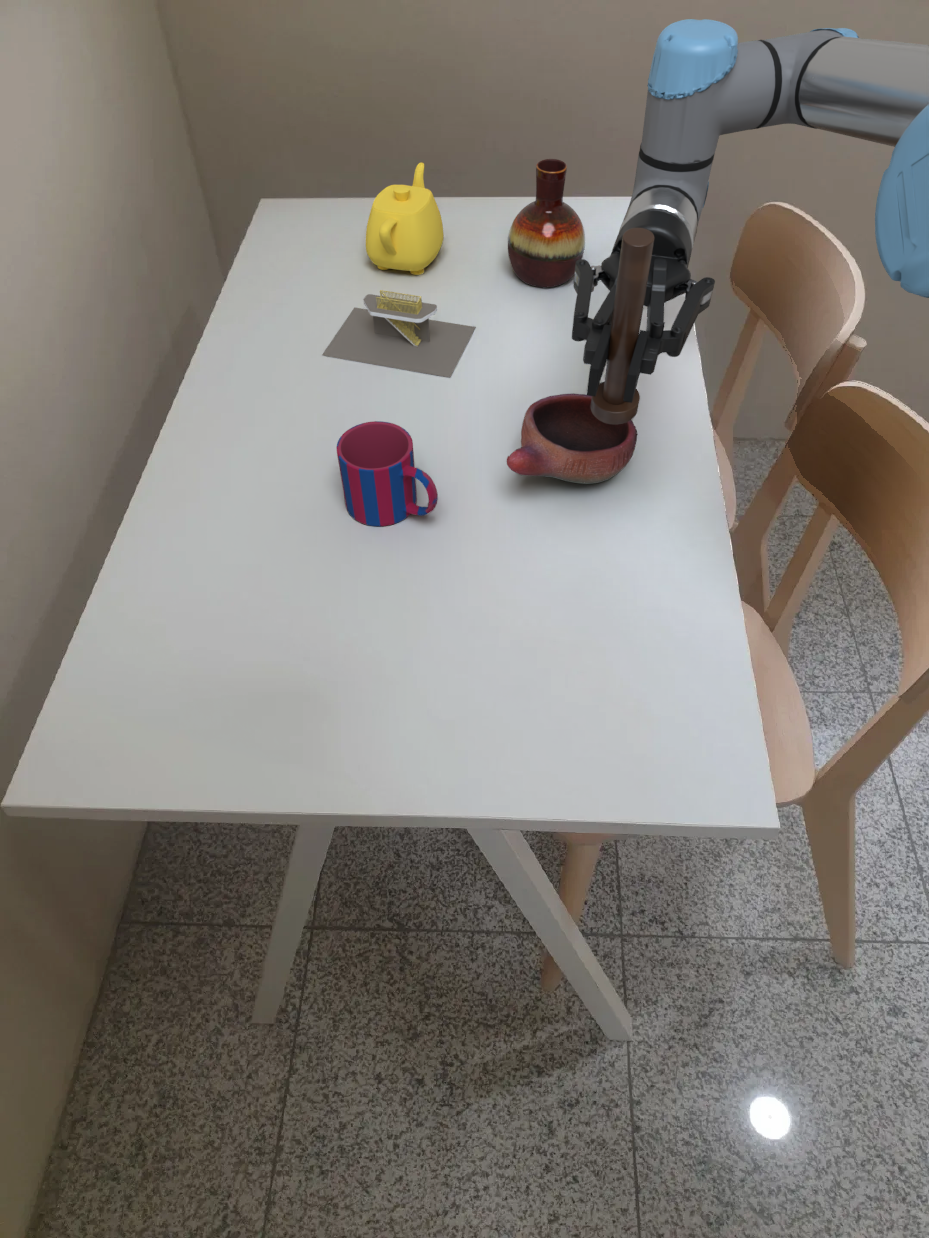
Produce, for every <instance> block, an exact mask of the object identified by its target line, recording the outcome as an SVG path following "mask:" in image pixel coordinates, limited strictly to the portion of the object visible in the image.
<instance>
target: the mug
mask: <svg viewBox="0 0 929 1238" xmlns="http://www.w3.org/2000/svg"><path fill="white" fill-rule="evenodd" d="M414 454H415V453H414V442H413V439H412V435H410V432H409V431H407V430H406V429H405V428H404V427H402V426H400V425H398V424H396V423H393V422H389V421H381V420H379V421H378V420H377V421H376V420H375V421H366V422H361V423H360V424H359V423H358V424H356V425H354V426H352V427H350V428H349V429H347V430H346V431H344V433H342V435H341V436H340V437H339V438H338V440H337V443H336V456H337V461H338V467H339V474H340V479H341V486H342V492H343V497H344V504H345V508H346V511H347V513H348V514H349V516H351V518H352V519H354V520H355V521H357V522H359V523H361V524H363V525H366V526H371V527H388V526H392V525H393V526H394V525H395V524H398V523H400V522H402V521H404V520H405V519H407V518H408V517H410V515H413V516H427V515H428V514H430V513H431V512H432V511H434V510H435V508H436V507H437V505H438V500H439V497H438V490H437V486H436V485H435V482H434V480H433V479H432V477H431V476H430V475H429V474H428V473H427V472H425V471H424V470H422V469H420V468H418V467H415V455H414ZM416 480H418V481H419V482H420V483H421V484H422V485H423V487H424V489H425V490H426V494H427V498H428V503H427V506H420V505H417V503H418V501H417V500H418V495H417V482H416Z"/></svg>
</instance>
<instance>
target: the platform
mask: <svg viewBox="0 0 929 1238" xmlns="http://www.w3.org/2000/svg"><path fill="white" fill-rule="evenodd" d="M362 300H363V305H364V306H365V308H360V307H353V309H352V310H351V312H350V313H349V315H348V316H347V317H346V319H345V320H344V322H343V324H341V326H340V328H339V329H338V330H337V332H336V334H335V335H334V337H333V338H332V340H330V343H329V344H328V345H327V346H326V348H325V349H324V351H323V353H322V354H321V356H324V357H329V358H336V359H341V360H346V361H353V362H359V363H365V364H368V365H369V364H370V365H376V366H381V367H387V368H393V369H399V370H403V371H404V370H405V371H410V372H416V373H421V374H426V375H433V376H439V377H445V378H451V377H452V375H453V373H454V371H455V369H456V368H457V365H458V363H459V361H460V359H461V357H462V356H463V353H464V351H465V349H466V348H467V345H468V344H469V342H470V340H471V337H472V335H473V334H474V332H475V330H476V326H472V325H466V324H460V323H455V322H454V323H453V322H449V321H442V320H435V319H430V318H431V317H433V316H435V315H436V313H437V311H438V305H437V304H435V303H430V302H429V303H428V302H422V301H423V300H422V296H421V295H415V294H408V293H403V292H402V293H401V292H395V291H390V290H383V289H380V290H379V294H372V293H368V294H366V295H365V296H364V298H363V299H362Z"/></svg>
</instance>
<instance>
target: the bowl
mask: <svg viewBox="0 0 929 1238" xmlns="http://www.w3.org/2000/svg"><path fill="white" fill-rule="evenodd" d="M591 398H592V396H589V395H587V394H586V393H574V392H573V393H561V394H560V393H559V394H554V395H549V396H546V397H543V398H541V399H538V400H537V401H535V402H533V403H531V404H530V405H529V407H527V410H526V411H525V413H524V417H523V421H522V424H521V425H522V426H521V432H520V437H521V439H520V444H521V445H520V446H521V447H520V448H516V450H514V451H512V452H511V453H510V455H508V456H507V457H506V465H507V467H508V469H510V470H511V471H512V472H514V473H516V474H518V475H519V476H530V477H531V476H532V477H546V478H552V479H553V478H554V479H556V480H557V479H558V480H560V481H565V482H568V483H575V484H581V485H583V484H584V485H587V484H588V485H589V484H598V483H602V482H605V481H607V480H610V479H611V478H613V477H615V476H616V475H618V474H619V473H620V472H621V471H622V470H624V468H625V467H626V466H627V465H628V464H629V462H630V460H631V459H632V457H633V456H634V452H635V449H636V446H637V441H638V435H639V434H638V430H637V429H636V428H637V427H636V425H635V424H634V422H633V419H632V420H630V421H628V422H626V423H623V424H608V423H605V422H602V421H600V420H598V419H597V418H596V417H595V416H594V415H593V413H592V411H591Z"/></svg>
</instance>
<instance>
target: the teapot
mask: <svg viewBox="0 0 929 1238" xmlns="http://www.w3.org/2000/svg"><path fill="white" fill-rule="evenodd" d="M424 174H425V163H424V162H419V163H418V164H417V165H416V167H415V169H414V175H413V180H412V184H411V185H407V184H390V185H388V186H386V187H385V188H383V189H382V190H381V191H380V192H379V193H378V194H377V195H376V196H375V198H374V200H373V202H372V205H371V207H370V211H369V215H368V220H367V224H366V230H365V251H366V254H367V256H368V258H369V260H370V261H371V262H372V263H373V264H374V265H375V266H376V267H377V269H379V270H381V271H387V270H390V269H392V270H397V271H406V272H410V274H412V275H414V276H419V275H423V274H424V273H425V268H426V267H428V266H430V264H431V263H433V262H434V260H435V258H437V256H438V254H439V252H440V250H441V248H442V246H443V242H444V235H445V234H444V225H443V219H442V215H441V212H440V209H439V206H438V204H437V200H436V199H435V196H434V194H433V192H432V191H431V190H430V189H429V188H426V187H425V181H424V179H425V178H424Z"/></svg>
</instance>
